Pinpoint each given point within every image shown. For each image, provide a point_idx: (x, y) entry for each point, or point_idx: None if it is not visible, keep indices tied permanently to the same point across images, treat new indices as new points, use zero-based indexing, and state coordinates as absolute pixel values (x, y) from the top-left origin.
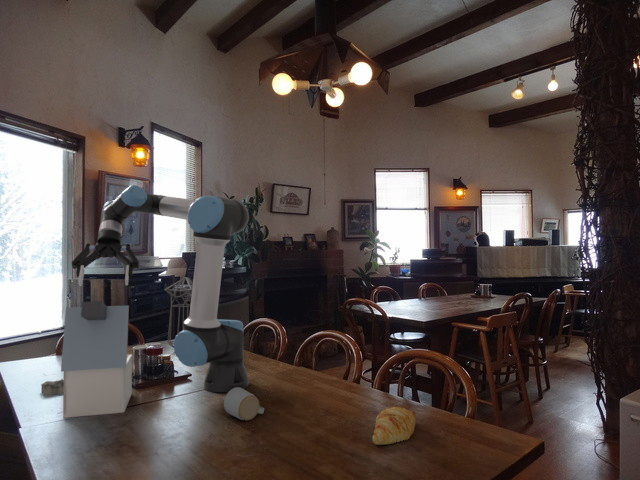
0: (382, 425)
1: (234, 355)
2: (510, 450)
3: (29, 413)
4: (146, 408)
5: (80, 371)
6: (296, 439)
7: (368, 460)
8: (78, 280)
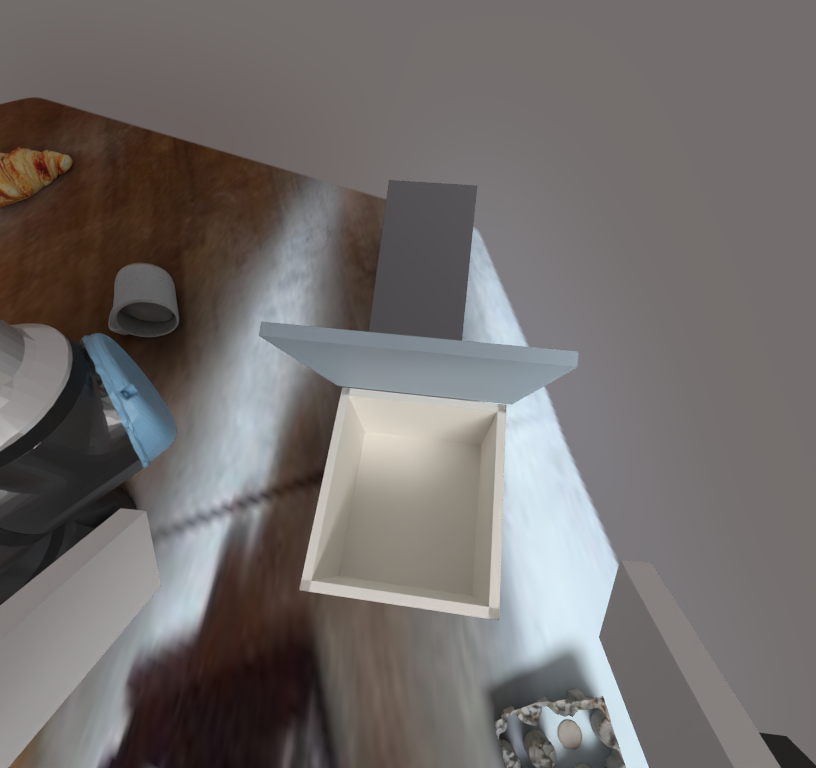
0: (34, 156)
1: None
2: None
3: (573, 509)
4: (312, 436)
5: (460, 401)
6: (141, 213)
7: (110, 146)
8: (649, 566)
